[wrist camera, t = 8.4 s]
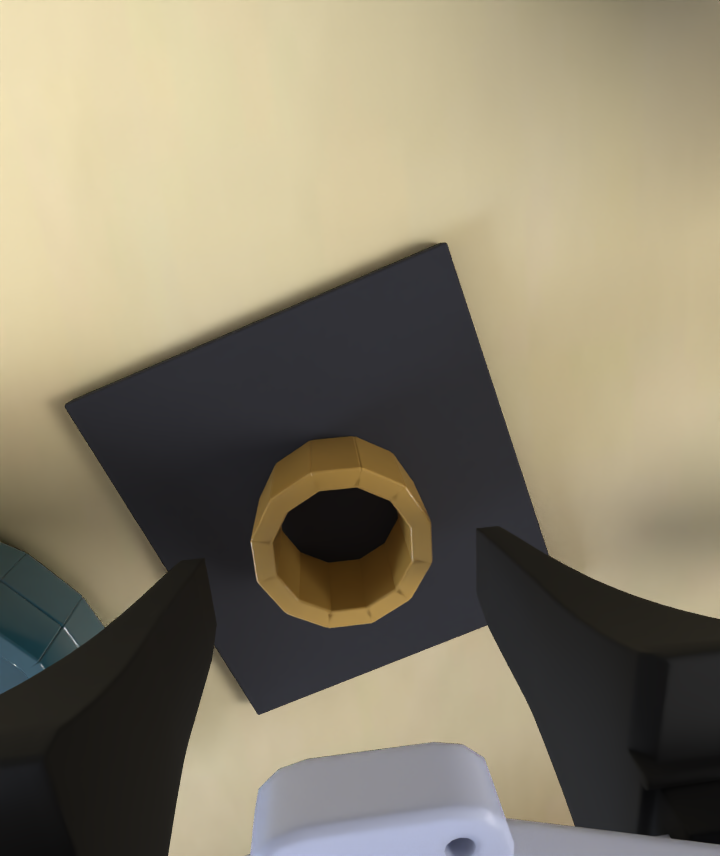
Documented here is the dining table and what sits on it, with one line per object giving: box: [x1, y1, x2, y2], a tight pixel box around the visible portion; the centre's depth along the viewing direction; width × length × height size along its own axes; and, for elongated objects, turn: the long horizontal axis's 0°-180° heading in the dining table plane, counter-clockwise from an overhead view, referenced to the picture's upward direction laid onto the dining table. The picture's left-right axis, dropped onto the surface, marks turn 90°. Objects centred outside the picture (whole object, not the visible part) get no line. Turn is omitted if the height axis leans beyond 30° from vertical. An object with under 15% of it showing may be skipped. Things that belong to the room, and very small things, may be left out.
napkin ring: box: [250, 436, 432, 628], centre depth 16 cm, size 5×5×3 cm
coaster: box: [65, 243, 549, 715], centre depth 17 cm, size 13×12×1 cm
